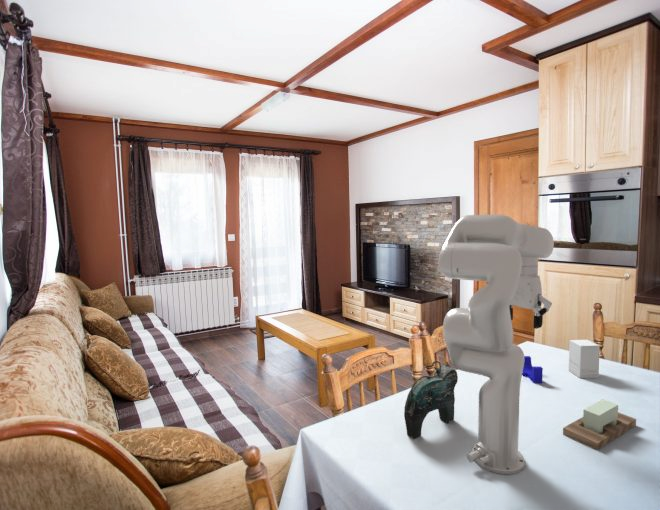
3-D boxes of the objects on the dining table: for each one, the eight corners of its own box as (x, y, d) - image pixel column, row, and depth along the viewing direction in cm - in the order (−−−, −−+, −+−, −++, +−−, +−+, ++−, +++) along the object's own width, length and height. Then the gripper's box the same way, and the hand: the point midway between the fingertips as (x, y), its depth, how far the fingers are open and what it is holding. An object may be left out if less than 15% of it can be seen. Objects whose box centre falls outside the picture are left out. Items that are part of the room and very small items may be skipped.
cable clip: (517, 370, 155) (517, 356, 155) (529, 370, 155) (529, 356, 154) (529, 383, 144) (529, 368, 143) (542, 383, 143) (542, 368, 142)
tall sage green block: (597, 439, 108) (599, 415, 107) (582, 432, 111) (583, 409, 110) (617, 427, 113) (618, 404, 113) (601, 421, 117) (602, 399, 116)
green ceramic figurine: (446, 412, 124) (446, 352, 122) (462, 421, 119) (463, 358, 117) (400, 433, 114) (400, 368, 111) (417, 444, 108) (416, 375, 106)
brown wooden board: (597, 450, 103) (597, 443, 103) (562, 434, 111) (563, 427, 110) (635, 425, 114) (636, 419, 114) (601, 412, 122) (602, 406, 121)
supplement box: (599, 378, 146) (600, 345, 145) (579, 378, 146) (580, 346, 145) (586, 370, 153) (587, 339, 152) (567, 370, 153) (568, 339, 152)
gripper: (492, 268, 126) (491, 319, 127) (544, 275, 111) (542, 333, 113) (506, 266, 129) (505, 316, 131) (559, 272, 115) (557, 328, 116)
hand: (522, 324), depth 122 cm, fingers open, 9 cm apart
